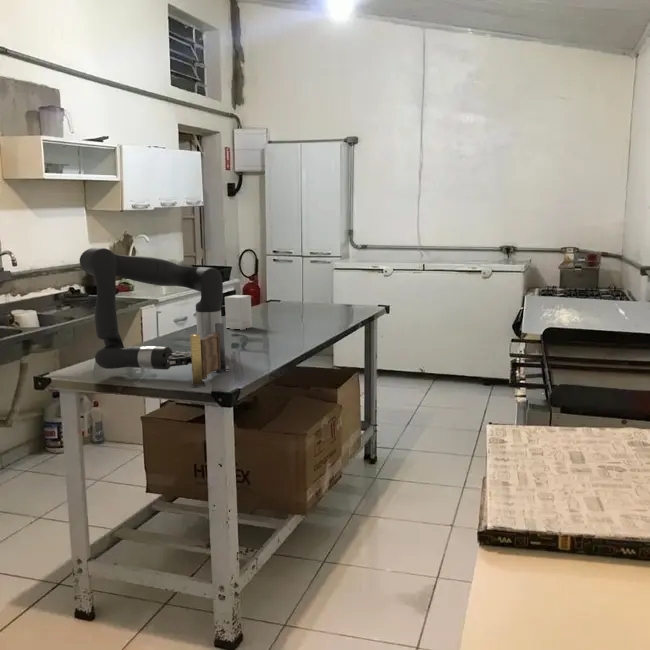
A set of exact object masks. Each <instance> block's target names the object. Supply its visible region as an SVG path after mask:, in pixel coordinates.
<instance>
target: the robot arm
mask: <svg viewBox="0 0 650 650" xmlns="http://www.w3.org/2000/svg"><path fill="white" fill-rule="evenodd" d="M79 265H80V268H81V269H82V270H83V271H84V272H85V273H86V274H88V275H90V276H93V277H94V279H95V283H96V302H95V306H94V323H95V331H96V336H97V338H98V339H100V340H103V343H104V347H102V348H100V349H98V350H97V351H96V353H95V355H94V361H95V362H96V365H98V366H99V367H100V368H103V369H106V370H108V369H109V370H110V369H111V370H114V369H122V368H123V369H124V368H134V369H135V368H137V369H138V368H139V369H140V368H141V369H147V370H165V371H167V370H169V369H170V368H171V367H179V366H188V365H192V359H191V351H187V350H186V351H184V352H182V351H174V352H173V350H172V348H171V347H169V346H159V345H158V346H155V345H147V346H139V345H138V346H137V345H135V346H127V347H125V346H124V343H123V341H122V337H121V335H120V332H119V324H118V316H117V315H118V314H117V304H116V289H117V288H116V287H117V286H116V285H117V284H116V282H117V281H116V280H117V277H118V278H123V279H126V280H131V281H134V282H139V283H141V284H142V283H143V284H147V285H154V286H162V287H163V286H167V287H171V286H172V287H173V286H178V287H183V288H187V289H190V290H194V291H196V292H200V300H199V302H196V303H195V319H196V320H195V321H196V334H200V339H201V338H204V337H206V336H208V335H210V334H212V333H214V332H215V324H216V323H223V322H222V304H223V300H224V299H223V298H224V297H223V296H224V295H223V294H224V293H223V292H224V285H223V283H224V281H223V276H222V273H221V271H220V270H218V269H217V268H214V267H206V266H184V265H179V264H177V263H175V262H172V261H169V260H166V259H162V258H157V257H152V256H143V255H141V256H140V255H122V254H121V255H120V254H118V253H114V252H113V251H112V250H110V249H109V248H105V247H91V248H88V249H86V250H84V251H83V252H82V253H81V255H80V257H79Z"/></svg>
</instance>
